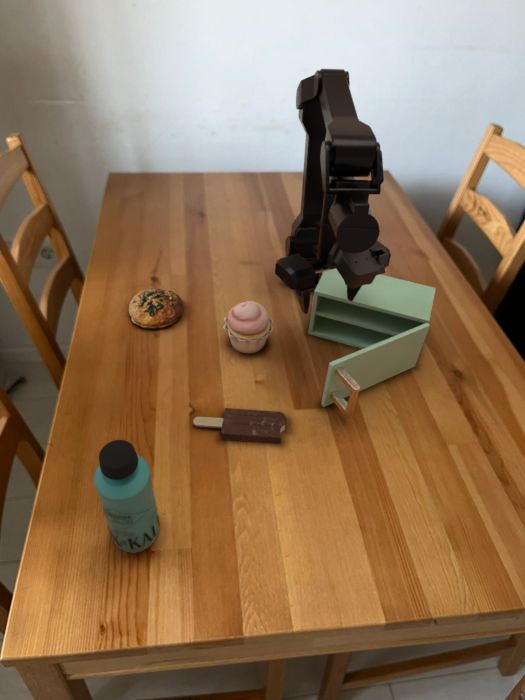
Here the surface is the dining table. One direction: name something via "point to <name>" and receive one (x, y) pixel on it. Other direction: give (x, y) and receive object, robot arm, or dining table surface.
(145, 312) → the bread roll
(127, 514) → the beverage bottle
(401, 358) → the fridge door
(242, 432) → the ice cream bar
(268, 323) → the cupcake
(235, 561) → the dining table surface
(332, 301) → the fridge
